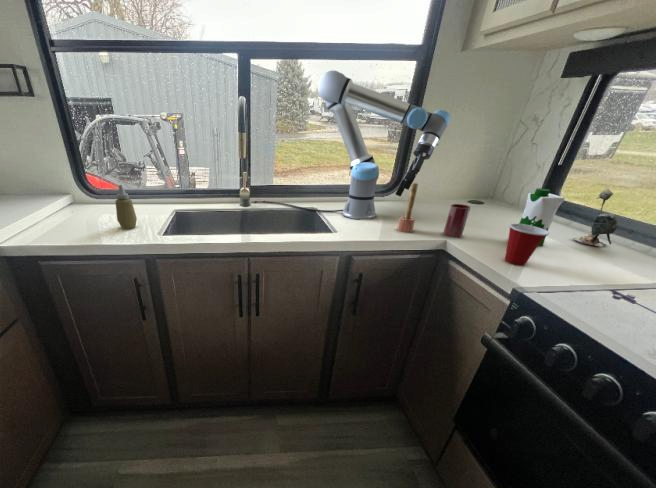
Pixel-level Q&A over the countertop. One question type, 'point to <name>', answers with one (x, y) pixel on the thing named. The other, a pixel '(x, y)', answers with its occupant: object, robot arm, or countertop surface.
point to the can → (456, 220)
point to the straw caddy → (406, 224)
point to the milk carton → (541, 209)
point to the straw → (411, 200)
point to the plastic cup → (523, 242)
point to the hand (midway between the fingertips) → (401, 192)
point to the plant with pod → (601, 224)
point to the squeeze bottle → (125, 210)
